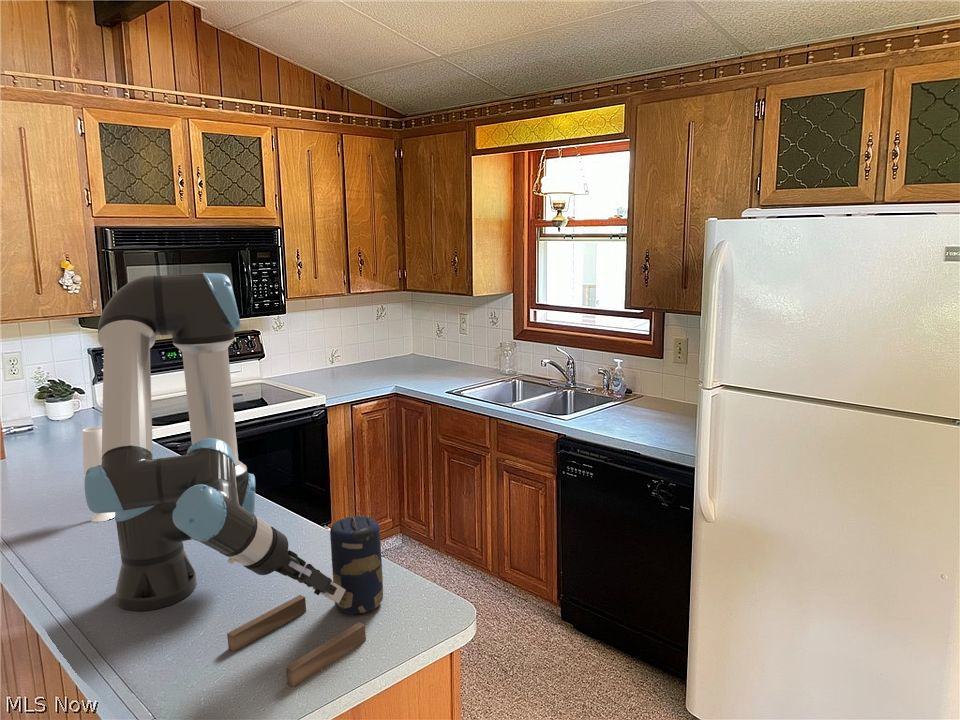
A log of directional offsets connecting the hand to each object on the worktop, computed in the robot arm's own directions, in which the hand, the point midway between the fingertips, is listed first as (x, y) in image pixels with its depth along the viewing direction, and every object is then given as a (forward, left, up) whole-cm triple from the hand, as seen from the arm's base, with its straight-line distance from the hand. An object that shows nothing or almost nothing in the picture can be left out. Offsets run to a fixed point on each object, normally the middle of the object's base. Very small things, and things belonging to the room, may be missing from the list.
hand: (339, 595), depth 132 cm
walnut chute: (0, -10, -5) cm, 11 cm away
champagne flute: (-88, -3, -5) cm, 89 cm away
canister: (-1, +6, -5) cm, 8 cm away
